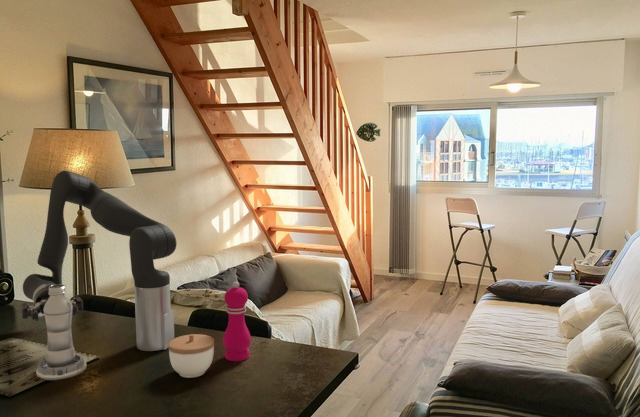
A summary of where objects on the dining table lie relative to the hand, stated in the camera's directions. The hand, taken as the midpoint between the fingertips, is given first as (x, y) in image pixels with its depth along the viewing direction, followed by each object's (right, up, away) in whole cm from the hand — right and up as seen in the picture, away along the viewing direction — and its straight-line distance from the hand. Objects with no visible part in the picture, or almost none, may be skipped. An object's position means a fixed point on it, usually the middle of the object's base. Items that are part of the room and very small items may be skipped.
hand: (55, 314), depth 133 cm
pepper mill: (+45, -12, +4) cm, 47 cm away
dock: (+4, -13, -4) cm, 14 cm away
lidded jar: (+36, -13, -5) cm, 39 cm away
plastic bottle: (+3, -12, -4) cm, 13 cm away
